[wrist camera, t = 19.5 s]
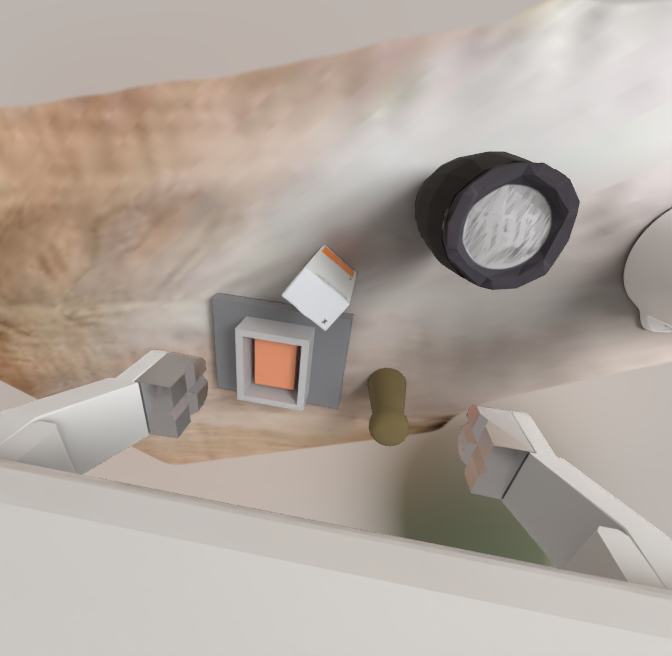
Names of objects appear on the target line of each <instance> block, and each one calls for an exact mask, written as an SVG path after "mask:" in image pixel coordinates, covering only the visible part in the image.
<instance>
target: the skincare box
mask: <svg viewBox="0 0 672 656" xmlns="http://www.w3.org/2000/svg"><path fill="white" fill-rule="evenodd" d="M356 276H357V272H356V271H354V270H353V269H352V268H351V267H349V266H348V265H347V264H346V263H345V262H344V261H342V260H341V259H340V258H339V257H338V256H337V255H336V254H335V253H333V252H332V251H331V250H330V249H329V248H328V247H327V246H326V245H323V246H322V247H321V248H320V249H319V250H318V251H317V252H316V254H315V255H314V256H313V257H312V259H311V260H310V261H309V262H308V263H307V264H306V265H305V267H304V268H303V269H302V270H301V271H300V272H299V274H298V275H297V276H296V277H295V278H294V280H293V281H292V282H291V283H290V284H289V286H288V287H287V288H286V289H285V291H284V292H283V293H282V297H283V298H284V299H286V300H287V301H288V302H289V303H291V304H292V305H293V306H294V307H296V308H297V309H298V310H299V311H300V312H301V313H302V314H303V315H305V316H306V317H308V318H309V319H310V320H312V321H313V322H314V323H316V324H317V325H318V326H319V327H321V328H322V329H323V330H324V331H326V330H327V329H328V328H329V327H330V326H331V325H332V324H333V323H334V321H335V320H336V319H337V318H338V317H339V316H340V315H341V314H342V313H343V312H344V311H345V309H346V308H347V307H348V306H349V305H350V301H351V297H352V293H353V289H354V284H355V280H356Z"/></svg>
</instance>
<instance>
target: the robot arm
mask: <svg viewBox="0 0 672 656" xmlns="http://www.w3.org/2000/svg"><path fill="white" fill-rule="evenodd" d="M624 286H625V289H626V292H627V294H628V296H629V298H630V299H631V300H632V302H633V303H634V304H635V305H636V306H637V308H638V309H639V311H640V320H641V324H642V326H643V328H644V329H647V330H649V331H651V332H672V209H670V210H669V211H667V212H666V213H665V214H663V215H662V216H661V217H659V218H658V219H657V220H656V221H655V222H653V223H652V224H651V225H650V226H649V227H648V228H647V229H646V230H645V231H644V233H643V234H642V235H641V236H640V238H639V239H638V240H637V242H636V243H635V245H634V246H633V248H632V250H631V252H630V254H629V256H628V259H627V261H626V265H625V269H624ZM205 371H206V362H205V360H204V359H203V358H201V357H196V356H190V355H185V354H180V353H175V352H169V351H164V350H158V349H156V350H151V351H150V352H149V353H147V354H146V355H145V356H143V357H142V358H141V359H139V360H138V361H137V362H136V363H134V364H133V365H132V366H130V367H129V368H128V369H126V370H125V371H124V372H123V373H121V374H120V375H119V376H117V377H116V378H106V379H103V380H100V381H97V382H94V383H90V384H87V385H84V386H81V387H77V388H74V389H71V390H68V391H65V392H61V393H58V394H55V395H52V396H48V397H45V398H42V399H39V400H36V401H32V402H29V403H26V404H23V405H19V406H17V407H13V408H10V409H7V410H4V411H0V656H672V540H671V538H669V537H668V536H667V535H665V534H664V533H662V532H661V531H660V530H659V529H657V528H656V527H655V526H653V525H652V524H650V523H649V522H648V521H646V520H645V519H644V518H642V517H641V516H640V515H638V514H637V513H636V512H634V511H633V510H632V509H630V508H629V507H628V506H626V505H625V504H623V503H622V502H621V501H619V500H618V499H617V498H615V497H614V496H613V495H611V494H610V493H608V492H607V491H606V490H605V489H603V488H602V487H600V486H599V485H598V484H596V483H595V482H594V481H592V480H591V479H590V478H588V477H587V476H586V475H584V474H583V473H582V472H580V471H579V470H578V469H576V468H575V467H574V466H572V465H571V464H570V463H568V462H567V461H565V460H564V459H563V458H558V457H556V456H555V454H554V452H553V451H552V449H551V448H550V446H549V445H548V443H547V441H546V440H545V438H544V437H543V435H542V434H541V432H540V431H539V429H538V427H537V426H536V424H535V423H534V421H533V420H532V418H531V416H530V415H528V414H527V413H525V412H518V411H511V410H501V409H495V408H489V407H483V406H477V405H472V406H471V407H470V408H469V410H468V412H467V418H468V421H469V422H468V423H466V424H465V425H463V426H462V427H461V430H460V432H459V436H458V452H459V455H460V459H461V460H462V461H463V462H464V463H465V464H466V465H467V467H466V469H465V471H464V472H465V476H466V479H467V483H468V486H469V489H470V492H471V493H474V494H478V495H483V496H488V497H492V498H497V499H502V502H503V503H504V504H505V505H506V506H507V508H508V509H509V510H510V511H511V513H512V514H513V515H514V516H515V517H516V519H517V520H518V521H519V522H520V523H521V525H522V526H523V527H524V528H525V530H526V531H527V532H528V533H529V534H530V535H531V537H532V538H533V539H534V540H535V542H536V543H537V544H538V545H539V546H540V547H541V549H542V550H543V551H544V552H545V554H546V555H547V556H548V557H549V558H550V560H551V561H552V562H553V563H554V564H555V565H556V567H557V568H554V567H549V566H544V565H539V564H534V563H529V562H524V561H518V560H514V559H508V558H503V557H498V556H493V555H488V554H483V553H478V552H473V551H468V550H463V549H457V548H453V547H447V546H442V545H437V544H432V543H427V542H422V541H417V540H411V539H407V538H401V537H397V536H391V535H386V534H381V533H376V532H371V531H366V530H361V529H356V528H350V527H346V526H340V525H335V524H330V523H325V522H320V521H315V520H310V519H304V518H300V517H295V516H290V515H284V514H279V513H274V512H269V511H264V510H259V509H254V508H249V507H244V506H239V505H233V504H229V503H224V502H218V501H213V500H208V499H203V498H198V497H193V496H188V495H182V494H178V493H172V492H168V491H162V490H157V489H152V488H147V487H142V486H137V485H132V484H127V483H122V482H117V481H112V480H107V479H101V478H96V477H91V476H86V475H82V474H84V473H85V472H87V471H89V470H91V469H92V468H94V467H96V466H97V465H99V464H101V463H103V462H104V461H106V460H108V459H109V458H111V457H113V456H114V455H116V454H118V453H120V452H121V451H123V450H125V449H126V448H128V447H130V446H131V445H133V444H135V443H137V442H138V441H140V440H142V439H143V438H145V437H147V436H148V435H149V434H155V435H161V436H168V437H174V438H179V436H180V435H181V434H182V432H183V431H184V430H185V428H186V427H187V426H188V424H189V423H190V422H191V420H190V415H191V414H194V413H196V412H198V411H199V410H200V408H201V407H202V406H203V404H204V402H205V399H206V397H207V391H208V382H207V380H206V379H205V378H204V376H203V375H202V374H203V373H204V372H205Z"/></svg>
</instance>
